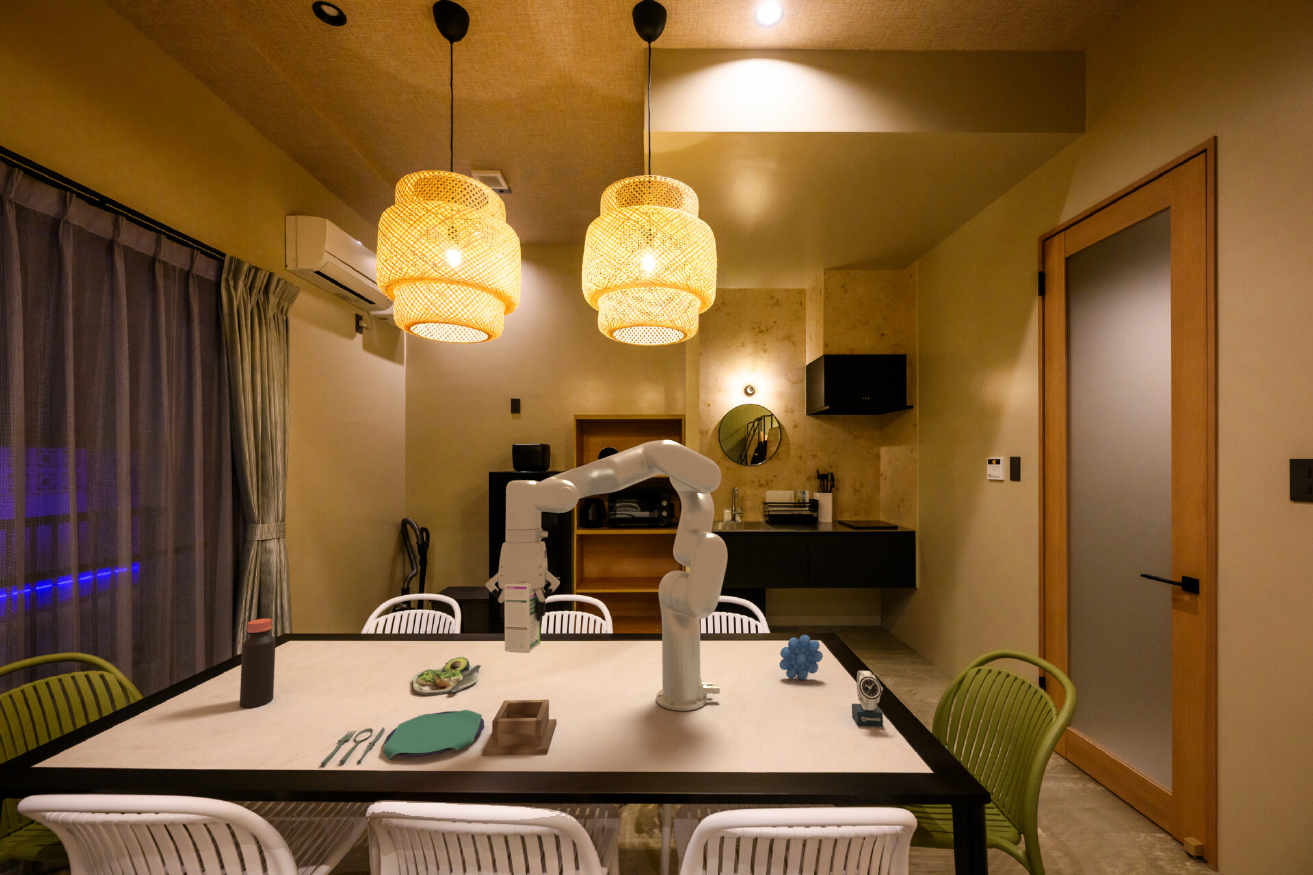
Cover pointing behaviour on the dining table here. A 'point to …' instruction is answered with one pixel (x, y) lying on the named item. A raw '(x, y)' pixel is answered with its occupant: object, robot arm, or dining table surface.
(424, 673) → the avocado toast plate
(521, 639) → the syrup box
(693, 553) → the robot arm
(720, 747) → the dining table surface
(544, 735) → the walnut holder
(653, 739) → the dining table surface
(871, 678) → the watch
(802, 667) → the blue knobbly flower shape
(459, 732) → the cutlery set
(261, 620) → the bottle
